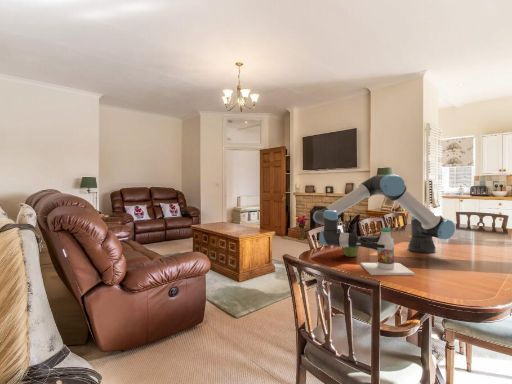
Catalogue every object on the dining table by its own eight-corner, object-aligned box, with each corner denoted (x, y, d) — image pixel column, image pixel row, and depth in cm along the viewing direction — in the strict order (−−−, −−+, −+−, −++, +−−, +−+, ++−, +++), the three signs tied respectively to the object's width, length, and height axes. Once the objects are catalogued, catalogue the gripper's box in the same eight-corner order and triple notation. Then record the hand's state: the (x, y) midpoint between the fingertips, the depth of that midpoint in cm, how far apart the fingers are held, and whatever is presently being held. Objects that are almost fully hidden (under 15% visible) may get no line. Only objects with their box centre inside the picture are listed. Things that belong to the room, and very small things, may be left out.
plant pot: (362, 258, 163) (362, 239, 163) (341, 257, 165) (341, 238, 165) (359, 253, 175) (359, 235, 174) (339, 252, 177) (339, 234, 177)
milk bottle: (374, 265, 146) (374, 227, 145) (388, 264, 147) (388, 226, 146) (382, 270, 138) (382, 229, 138) (397, 269, 139) (397, 229, 138)
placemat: (399, 265, 150) (399, 262, 150) (414, 275, 134) (414, 272, 134) (360, 264, 151) (360, 262, 151) (371, 274, 135) (371, 272, 135)
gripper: (352, 242, 162) (394, 246, 152) (344, 252, 140) (391, 257, 130) (353, 229, 161) (394, 232, 151) (344, 237, 139) (391, 241, 129)
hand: (393, 243), depth 140 cm, fingers open, 13 cm apart
